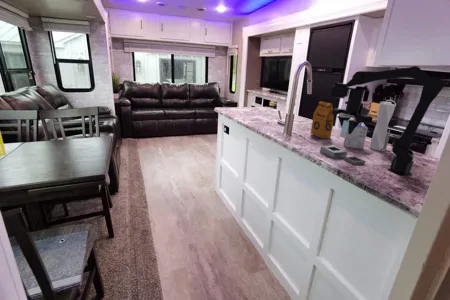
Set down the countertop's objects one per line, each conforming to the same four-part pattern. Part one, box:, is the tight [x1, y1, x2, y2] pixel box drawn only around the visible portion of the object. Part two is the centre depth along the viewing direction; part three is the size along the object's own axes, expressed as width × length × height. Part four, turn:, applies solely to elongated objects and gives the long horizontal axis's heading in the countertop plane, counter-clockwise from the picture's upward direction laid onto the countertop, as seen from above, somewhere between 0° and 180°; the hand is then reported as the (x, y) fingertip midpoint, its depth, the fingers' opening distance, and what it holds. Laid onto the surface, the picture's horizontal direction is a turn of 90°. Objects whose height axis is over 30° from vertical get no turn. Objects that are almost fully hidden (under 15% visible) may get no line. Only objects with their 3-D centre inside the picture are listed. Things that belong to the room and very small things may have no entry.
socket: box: [319, 144, 348, 159], centre depth 120 cm, size 10×8×3 cm
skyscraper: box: [369, 99, 397, 152], centre depth 128 cm, size 8×8×28 cm
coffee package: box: [310, 100, 335, 139], centre depth 149 cm, size 10×12×22 cm
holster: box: [343, 155, 366, 166], centre depth 111 cm, size 6×6×2 cm
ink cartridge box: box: [343, 123, 369, 150], centre depth 133 cm, size 10×6×14 cm, turn 72°
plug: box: [339, 119, 353, 140], centre depth 112 cm, size 4×4×8 cm
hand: (346, 132), depth 112 cm, fingers closed on plug, 3 cm apart
